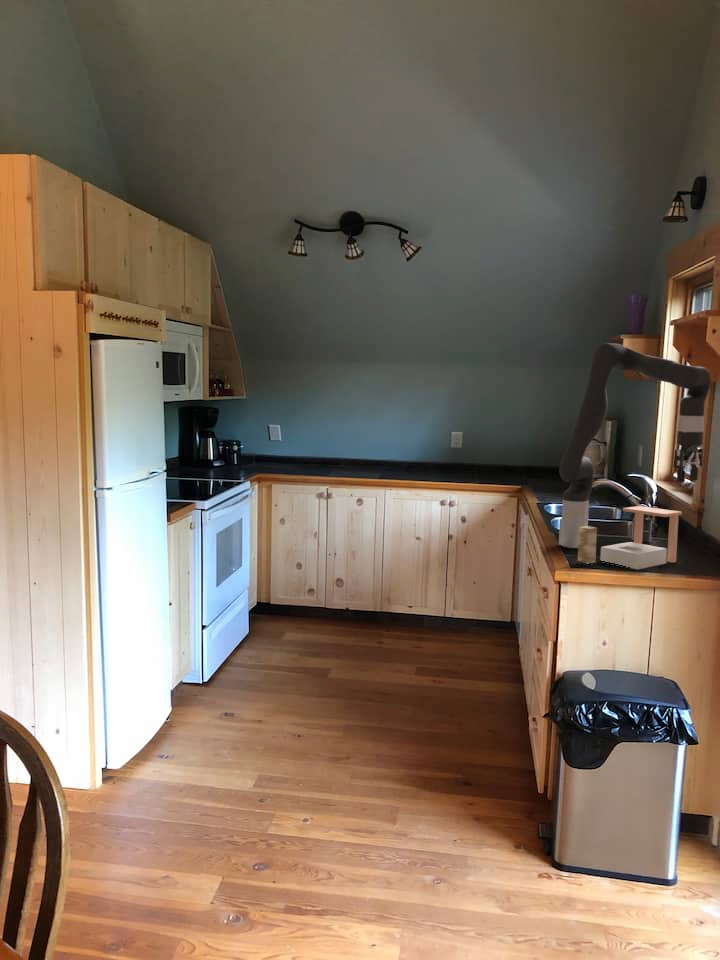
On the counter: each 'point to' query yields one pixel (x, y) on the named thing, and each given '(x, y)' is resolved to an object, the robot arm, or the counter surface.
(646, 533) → the supplement bottle
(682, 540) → the counter surface
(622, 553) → the socket block
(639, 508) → the wooden arch frame
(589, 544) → the peg
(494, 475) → the counter surface
